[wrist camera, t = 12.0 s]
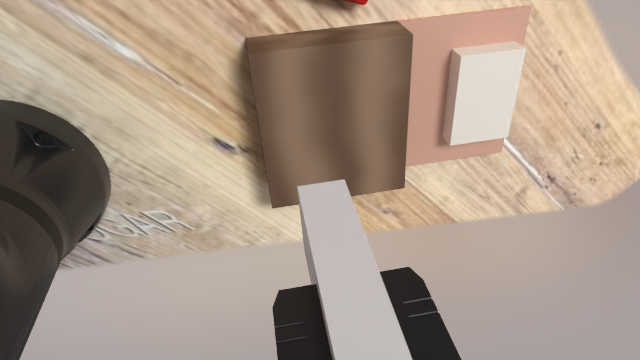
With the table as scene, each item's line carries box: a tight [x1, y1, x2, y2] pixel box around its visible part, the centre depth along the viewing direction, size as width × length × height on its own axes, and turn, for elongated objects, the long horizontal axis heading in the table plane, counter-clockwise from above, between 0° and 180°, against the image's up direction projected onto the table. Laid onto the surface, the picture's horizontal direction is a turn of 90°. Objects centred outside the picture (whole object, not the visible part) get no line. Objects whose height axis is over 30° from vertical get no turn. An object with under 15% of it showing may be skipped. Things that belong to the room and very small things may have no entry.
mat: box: [398, 6, 531, 166], centre depth 43 cm, size 12×15×1 cm
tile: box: [442, 41, 526, 146], centre depth 42 cm, size 6×9×2 cm, turn 3°
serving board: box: [246, 21, 413, 208], centre depth 40 cm, size 13×15×4 cm
